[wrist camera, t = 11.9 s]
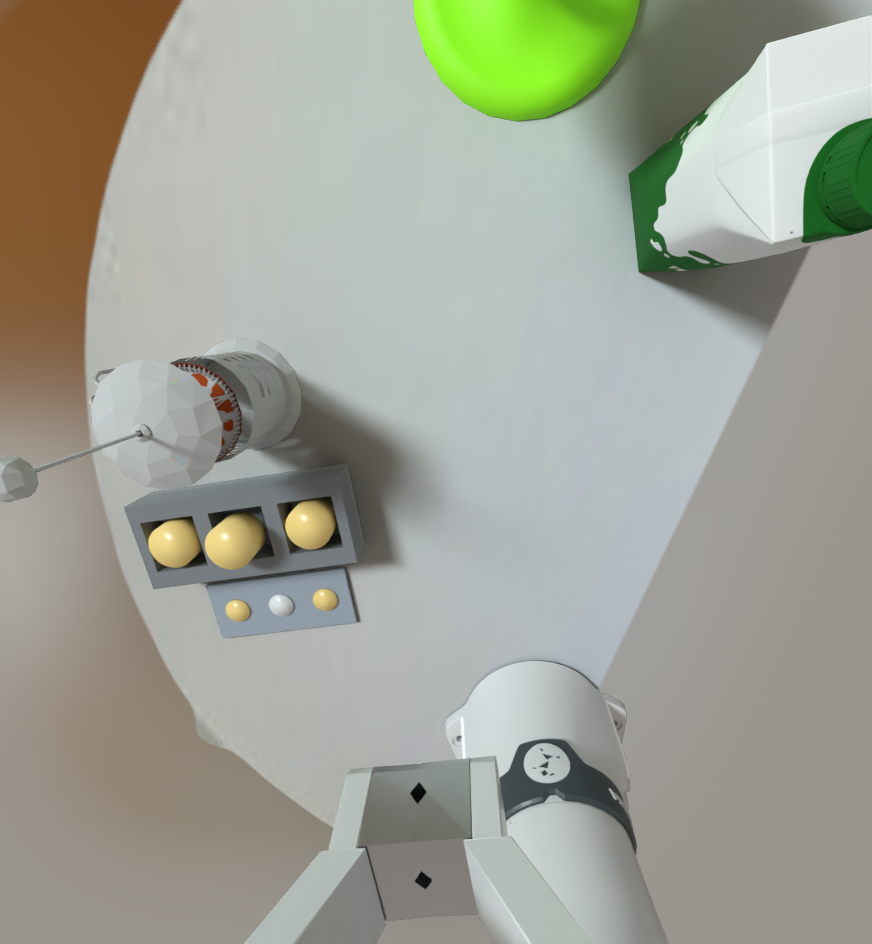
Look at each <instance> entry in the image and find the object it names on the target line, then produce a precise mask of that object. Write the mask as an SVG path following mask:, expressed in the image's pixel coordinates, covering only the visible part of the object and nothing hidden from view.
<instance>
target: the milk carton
mask: <svg viewBox="0 0 872 944" xmlns="http://www.w3.org/2000/svg"><path fill="white" fill-rule="evenodd" d="M629 180H630V190H631V200H632V210H633V220H634V230H635V239H636V249H637V259H638V270H639V272H663V271H692V270H700V269H707V268H714V267H720V266H725V265H730V264H734V263H739V262H744V261H749V260H753V259H758V258H763V257H768V256H772V255H777V254H782V253H786V252H790V251H794V250H797V249H800V248H804V247H807V246H811V245H814V244H818V243H820V242H825V241H828V240H831V239H835V238H838V237H842V236H848V235H853V234H857V233H860V232H864V231H867V230H870V229H872V15H869V16H865V17H862V18H858V19H854V20H851V21H847V22H843V23H840V24H836V25H832V26H829V27H825V28H821V29H818V30H814V31H810V32H807V33H803V34H799V35H796V36H792V37H788V38H785V39H781V40H777V41H774V42H770V43H767V44H766V46H765V47H764V49H763V51H762V52H761V54H760V55H759V57H758V58H757V60H756V61H755V63H754V64H753V66H752V67H751V69H750V70H749V72H748V73H747V74H746V75H744V76H743V77H742V78H741V79H740V80H739V81H737V82H736V83H735V84H734V85H733V86H732V87H730V88H729V89H728V90H727V91H726V92H725V93H723V94H722V95H721V96H720V97H719V98H718V99H716V100H715V101H714V102H713V103H712V104H711V105H709V106H708V107H707V108H706V109H705V110H704V111H702V112H701V113H700V114H699V115H698V116H697V117H695V118H694V119H693V120H692V121H691V122H690V123H688V124H687V125H686V126H685V127H684V128H683V129H681V130H680V131H679V132H678V133H677V134H675V135H674V136H673V137H672V138H671V139H670V140H668V141H667V142H666V143H665V144H664V145H663V146H661V147H660V148H659V149H658V150H657V151H656V152H655V153H653V154H652V155H651V156H650V157H649V158H648V159H646V160H645V161H644V162H643V163H642V164H641V165H640V166H638V167H637V168H636V169H635V170H634V171H632V172H631V173H630V174H629Z"/></svg>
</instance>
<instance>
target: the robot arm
mask: <svg viewBox="0 0 872 944" xmlns="http://www.w3.org/2000/svg"><path fill="white" fill-rule="evenodd" d="M626 718H627V713H626V710H625V706H624V704H623V703H622V702H621V701H619V700H618V699H615V698H613V697H611V696H609V695H606V694H604V693H601V692H600V691H598V690H597V689H596V688H595V687H594V686H593V685H592V684H591V683H590V682H589V681H588V680H587V679H586V678H585V677H583V676H582V675H581V674H579V673H578V672H576V671H574V670H573V669H570V668H568V667H566V666H563V665H560V664H556V663H552V662H545V661H526V662H520V663H515V664H512V665H508V666H506V667H503V668H501V669H499V670H497V671H495V672H493V673H492V674H490V675H489V676H487V677H486V678H485V679H484V680H483V681H482V682H480V684H479V685H478V686H477V687H476V688H475V689H474V691H473V692H472V694H471V696H470V698H469V699H468V701H467V702H466V704H465V705H464V706H463V707H462V708H461V709H459V710H458V711H456V712H455V713H454V714H452V715H451V716H450V717H449V718H448V719H447V720H446V722H445V731H446V735H447V738H448V740H449V742H450V744H451V746H452V749H453V751H454V753H455V755H456V758H457V759H456V760H447V761H437V762H428V763H422V764H412V765H397V766H382V767H373V768H359V769H350V771H349V773H348V774H347V776H346V780H345V784H344V788H343V792H342V796H341V800H340V804H339V808H338V813H337V817H336V821H335V825H334V829H333V833H332V838H331V841H330V846H329V850H328V851H321V852H320V853H319V854H318V855H317V857H316V858H315V859H314V860H313V861H312V863H311V864H310V865H309V866H308V867H307V869H306V870H305V871H304V872H303V873H302V875H301V876H300V877H299V878H298V880H297V881H296V882H295V883H294V884H293V885H292V887H291V888H290V889H289V890H288V892H287V893H286V894H285V895H284V896H283V897H282V899H281V900H280V901H279V902H278V904H277V905H276V906H275V907H274V908H273V909H272V911H271V912H270V913H269V914H268V915H267V917H266V918H265V919H264V920H263V922H262V923H261V924H260V925H259V926H258V927H257V929H256V930H255V931H254V932H253V934H252V935H251V936H250V937H249V938H248V940H247V941H246V942H245V943H244V944H376V943H377V941H378V939H379V938H380V936H381V934H382V932H383V930H384V928H385V926H386V922H385V921H394V920H404V919H413V918H423V917H434V916H464V915H478V917H479V919H480V921H481V923H482V925H483V927H484V929H485V931H486V933H487V934H488V936H489V938H490V940H491V942H492V944H670V943H669V941H668V938H667V936H666V933H665V931H664V929H663V926H662V924H661V921H660V919H659V917H658V914H657V912H656V909H655V907H654V904H653V901H652V899H651V896H650V894H649V891H648V888H647V886H646V883H645V880H644V878H643V875H642V872H641V869H640V866H639V864H638V861H637V858H636V847H637V845H636V840H635V836H634V832H633V826H632V821H631V818H630V815H629V812H628V799H627V795H626V792H629V791H630V781H629V778H630V769H629V766H628V763H627V760H626V756H625V753H624V751H623V747H622V740H623V734H624V729H625V723H626ZM459 736H462V737H459Z"/></svg>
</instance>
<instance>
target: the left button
mask: <svg viewBox="0 0 872 944" xmlns="http://www.w3.org/2000/svg"><path fill="white" fill-rule="evenodd" d="M148 545H149V549H150V552H151V554H152V555H153V557H154V558H155V559H156V560H157V561H158V562H159V563H161V564H163V565H165V566H168V567H172V568H178V567H182V566H185V565H186V564H188V563H189V562H190V561H191V560H192V559H193V558H195V557H196V556H197V555H198V554H199V553H200V552H201V551H202V550H203V548H202V545H201V542H200V539H199V536H198V533H197V530H196V527H195V524H194V521H193V517H192V516H187V517H180V518H173V519H170V520H168V521H167V522H165V523H164V524H162V525H161V526H159V527H158V528H157V529H155V530H154V531H153V532H152V533H151V535H150V537H149V541H148Z"/></svg>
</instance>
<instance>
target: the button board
mask: <svg viewBox="0 0 872 944" xmlns="http://www.w3.org/2000/svg"><path fill="white" fill-rule="evenodd" d="M320 497H329V498H330V499H331V500H332V502H333V506H334V510H335V514H336V519H337V523H338V526H337V527H336V529H335V531H334V532H333V534H332V536H331V538H330V539H329V541H328V542H327V543H326V544H325V545H324V546H322V547H320V548H317V549H304V548H301V547H299V546H297V545H296V544H294V543H293V542H292V541H291V540H290V538H289V537H288V535H287V532H286V528H285V524H286V519H287V517H288V515H289V514H290V513H291V511H292V510H293V509H294V508H295V507H296V506H297V505H298V503H299V502H300V501H301V500H306V499H313V498H320ZM124 509H125V512H126V515H127V517H128V520H129V523H130V525H131V528H132V531H133V534H134V536H135V539H136V542H137V545H138V547H139V550H140V553H141V556H142V558H143V561H144V564H145V567H146V569H147V572H148V575H149V578H150V580H151V583H152V586H153V589H158V588H166V587H173V586H181V585H189V584H196V583H204V582H212V581H219V580H227V579H235V578H242V577H250V576H258V575H265V574H273V573H281V572H288V571H296V570H304V569H311V568H319V567H327V566H334V565H342V564H350V563H357V562H358V559H359V557H360V554H361V552H362V549H363V547H364V545H365V540H364V536H363V531H362V527H361V522H360V517H359V513H358V508H357V504H356V499H355V495H354V490H353V486H352V481H351V477H350V472H349V468H348V463H346V464H339V465H333V466H326V467H319V468H312V469H306V470H299V471H292V472H285V473H279V474H272V475H265V476H258V477H251V478H245V479H238V480H231V481H224V482H218V483H211V484H204V485H197V486H191V487H184V488H177V489H174V490H163V491H157V492H151V493H149V494H147V495H146V496H144V497H142V498H140V499H138V500H137V501H135V502H133V503H131V504H129V505H128V506H126V507H124ZM235 512H247V513H250V514H252V515H254V516H256V517H257V518H258V519H259V520H260V521H261V522H262V523H263V525H264V527H265V530H266V541H265V543H264V545H263V546H262V548H261V549H260V550H259V551H258V552H257V554H256V555H255V556H254V557H253V558H252V559H251V561H250V562H249V563H248V564H247V565H246V566H244V567H242V568H240V569H236V570H229V569H224V568H222V567H219V566H218V565H216V564H215V563H214V562H212V561H211V559H210V558H209V557H208V555H207V553H206V550H205V539H206V536H207V534H208V533H209V532H210V531H211V530H212V529H213V528H214V527H216V526H217V525H218V524H219V523H220V522H221V521H223V520H224V519H225V518H226V517H227V516H229V515H230V514H232V513H235ZM187 516H192V517H193V521H194V524H195V527H196V530H197V533H198V536H199V539H200V542H201V545H202V548H203V550H202V551H201V552H200V553H199V554H198V555H197V556H196V557H195V558H193V559H192V560H191V561H190V562H189V563H188V564H186V565H185V566H182V567H178V568H172V567H168V566H165V565H163V564H161V563H159V562H158V561H157V560H156V559H155V558H154V557H153V555H152V554H151V552H150V549H149V545H148V541H149V537H150V535H151V533H152V532H153V531H154V530H155V529H157V528H158V527H159V526H161V525H162V524H164V523H165V522H167V521H168V520H170V519H173V518H180V517H187ZM206 588H207V591H208V594H209V597H210V600H211V603H212V606H213V609H214V612H215V615H216V619H217V622H218V625H219V628H220V631H221V634H222V637H223V638H231V637H239V636H248V635H256V634H264V633H273V632H281V631H289V630H298V629H306V628H314V627H323V626H331V625H339V624H348V623H356V622H357V617H356V613H355V609H354V604H353V600H352V596H351V592H350V587H349V583H348V579H347V575H346V571H345V567H340V568H332V569H324V570H317V571H309V572H301V573H294V574H286V575H278V576H271V577H263V578H255V579H248V580H240V581H232V582H224V583H217V584H209V585H207V586H206Z"/></svg>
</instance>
